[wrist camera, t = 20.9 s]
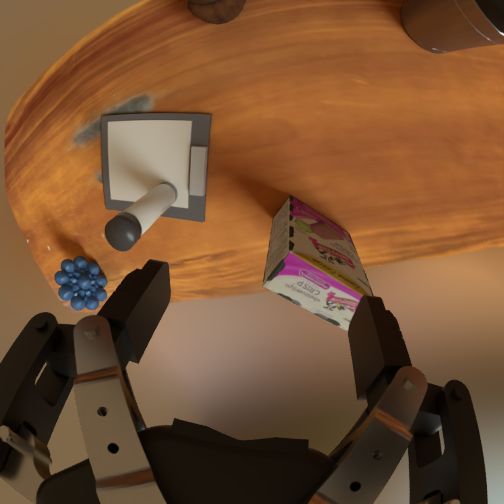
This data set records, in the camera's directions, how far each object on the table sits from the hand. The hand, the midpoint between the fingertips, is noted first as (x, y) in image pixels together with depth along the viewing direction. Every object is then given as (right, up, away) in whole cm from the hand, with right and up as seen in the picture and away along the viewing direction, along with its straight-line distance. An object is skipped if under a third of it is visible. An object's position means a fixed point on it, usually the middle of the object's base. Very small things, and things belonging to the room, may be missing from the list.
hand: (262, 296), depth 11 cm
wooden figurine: (-4, +34, +14) cm, 37 cm away
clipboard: (-16, +15, +26) cm, 34 cm away
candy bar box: (+8, +6, +29) cm, 30 cm away
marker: (-13, +10, +28) cm, 32 cm away
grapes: (-33, -1, +39) cm, 51 cm away
